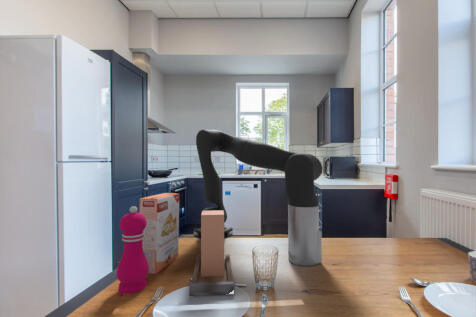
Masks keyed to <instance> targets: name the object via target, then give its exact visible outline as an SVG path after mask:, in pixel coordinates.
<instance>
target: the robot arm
mask: <svg viewBox="0 0 476 317" xmlns="http://www.w3.org/2000/svg"><path fill="white" fill-rule="evenodd" d="M195 145H196V150H197V151H196V152H197V156H198V158H199V160H198V161H199V164H200V167H201V168H200V169H201V174H202V178H203V191H204V201H205V202H206V203H208V204H209V203H211V204H215V205H216V206H217V207H206V208H204V209H203V210H202V211H213V210H223V211H224V224H225V223H226V222H227V220H228V213H227V210H226V208H225V206H224V205H225V204H224V202H223V197H222V184H221V178H220V176H219V174H218V173H217V171H216V168H215V167H214V163H213V160H212V152H214V153H215V152H222V153H227V154H230V155H232V156H233V157H234V158H235V159H236V160H237V161H238V162H241V163H243V164H245V165H249V166H250V167H251V166H252V167H254V168H255V167H256V168H260V169H267V170H274V171H280V172H283V173H284V182H285V184H284V185H285V186H284V188H285V196H286V198H287V212H288V215H287V228H288V230H287V232H288V234H287V236H288V239H287V240H288V244H287V246H288V249H287V250H288V252H287V254H288V256H287V257H288V261H289V262H290V263H292V264H294V265H298V266H302V267H303V266H305V267H310V266H311V267H312V266H316V265H319V264H322V260H323V259H322V255H323V254H322V231H321V230H320V228H319V227H320V226H319V225H320V219H319V218H320V217H319V216H320V215H319V214H320V211H319V210H320V208H319V204H320V203H319V197H318V196H319V195H317V194H316V192H315V181H317V180H318V179H319V178H320V177H321V175H322V174H323V165H322V162H321V161H320V159H318V157H317V156H315V155H313V154H312V153H311V154H310V153H302V152H294V151H290V150H289V151H288V150H285V149H282V148H279V147H278V146H274V145H271V144H268V143H265V142H262V141H260V140H256V139H252V138H247V137H246V138H245V137H239V136H235V135H231V134H229V133H226V132H224V131H221V130H220V129H204V128H203V129H200V130H199V131H198V132H197V134H196V136H195ZM233 230H234V229H233V227H228V228H227V227H226V226H225V225H224V240H226V239H228V238H231V237H233V235H234V234H233ZM193 237H194V238H196V239H199V240H201V228H197V227H195V228H194V229H193Z"/></svg>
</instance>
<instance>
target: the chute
mask: <svg viewBox="0 0 476 317" xmlns="http://www.w3.org/2000/svg"><path fill="white" fill-rule="evenodd" d="M230 257H231V256H230V253H226V254H225V253H224V276H205V277H201V254H197V255H196V256H195V258H196V259H195V263H194V268H193V273H192V277H191V282H189V286H188V288H189V296H193V297H194V298H195V297H197V298H198V297H215V296H216V297H217V296H220V297H221V296H227V295H226V294H229V293H230V292H232V291H233V290H234V291H235V281H234V276H233V271H232V270H233V269H232V262H231V258H230ZM193 297H192V298H193Z"/></svg>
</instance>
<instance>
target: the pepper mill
mask: <svg viewBox="0 0 476 317" xmlns="http://www.w3.org/2000/svg"><path fill="white" fill-rule="evenodd" d="M146 225H147V221H146V218H145V216H144V215H143V214H141V213H139V212H138V207H136V206H135V205H134V206H131V207H130V208H129V213H126V214H124V215H123V216H122V217H121V218H120V221H119V228H120V230H121V232H122V234H121V241H122V242H123V252H122V256H121V258H120V260H119V262H118V266H117V269H116V279H117V280H118V281H119V282H120V283H119V284H118V294H119V295H120V296H123V295H124V294H132V293H137V292H140V291H142V290H144V289H145V288H146V287H148V286H147V285H148V280H147V279H146V278H147V276H148V275H149V265H148V261H147V259H146V257H145V255H144V252H143V247H142V241H143V239H144V232H143V230H144V229H145V227H146Z"/></svg>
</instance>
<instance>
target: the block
mask: <svg viewBox="0 0 476 317" xmlns="http://www.w3.org/2000/svg"><path fill="white" fill-rule="evenodd" d="M200 215H201V216H200V217H201V218H200V223H201V225H200V229H201V239H200V255H201V277H205V276H224V258H225V239H224V226H225V223H224V211H223V210H213V211H203V210H202V211H201V214H200Z"/></svg>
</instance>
